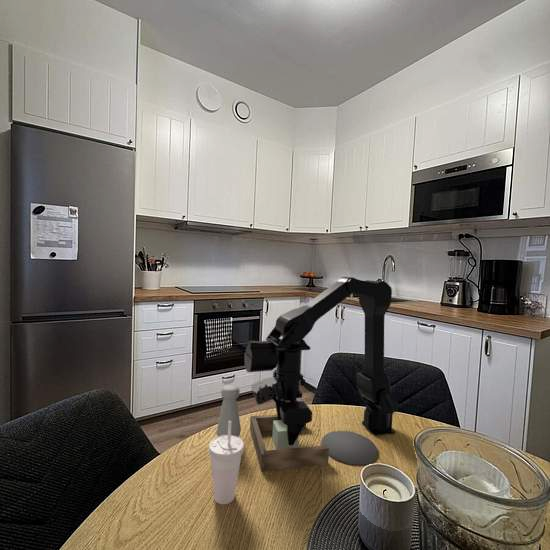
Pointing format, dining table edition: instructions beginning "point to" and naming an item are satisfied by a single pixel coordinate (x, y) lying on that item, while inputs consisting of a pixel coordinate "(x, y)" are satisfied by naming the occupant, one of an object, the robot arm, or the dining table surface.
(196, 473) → the dining table surface
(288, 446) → the block
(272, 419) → the bay
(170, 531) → the dining table surface
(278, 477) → the dining table surface
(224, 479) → the smoothie
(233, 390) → the salt shaker
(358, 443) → the coaster
